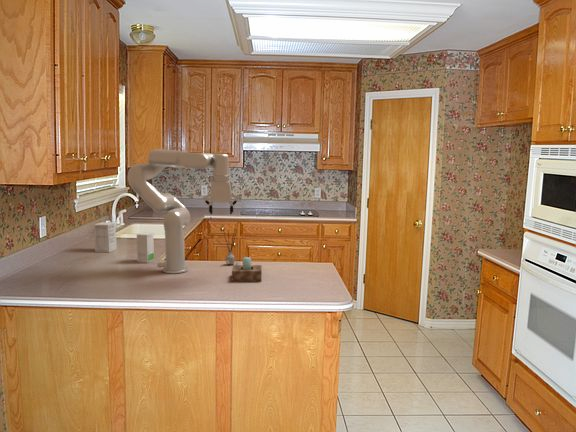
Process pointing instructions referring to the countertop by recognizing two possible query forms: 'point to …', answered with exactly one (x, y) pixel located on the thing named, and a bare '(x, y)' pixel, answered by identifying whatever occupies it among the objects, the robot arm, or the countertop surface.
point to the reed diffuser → (230, 253)
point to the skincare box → (145, 247)
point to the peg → (246, 263)
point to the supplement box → (105, 237)
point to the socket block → (246, 273)
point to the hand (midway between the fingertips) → (221, 213)
